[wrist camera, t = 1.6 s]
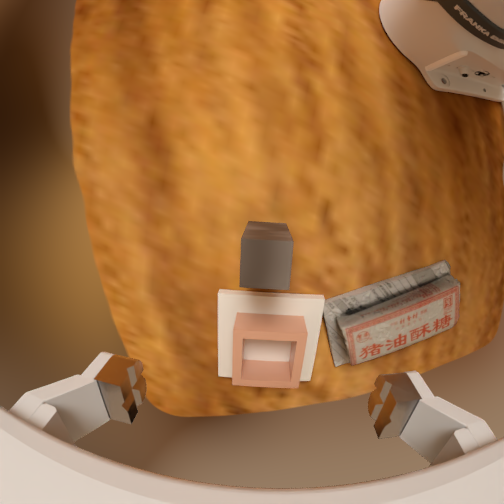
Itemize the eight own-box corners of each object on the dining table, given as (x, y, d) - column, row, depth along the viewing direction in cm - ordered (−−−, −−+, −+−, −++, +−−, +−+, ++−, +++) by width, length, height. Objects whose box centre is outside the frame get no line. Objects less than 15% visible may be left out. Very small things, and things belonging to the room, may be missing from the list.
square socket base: (323, 295, 32) (332, 315, 27) (309, 375, 35) (313, 401, 30) (219, 289, 33) (211, 308, 28) (219, 370, 36) (213, 396, 31)
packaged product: (465, 267, 26) (463, 335, 29) (444, 256, 31) (446, 319, 33) (325, 317, 28) (339, 384, 31) (318, 298, 33) (332, 362, 35)
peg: (286, 223, 31) (293, 241, 22) (283, 259, 32) (289, 290, 23) (248, 221, 31) (241, 238, 22) (247, 257, 32) (239, 287, 23)
